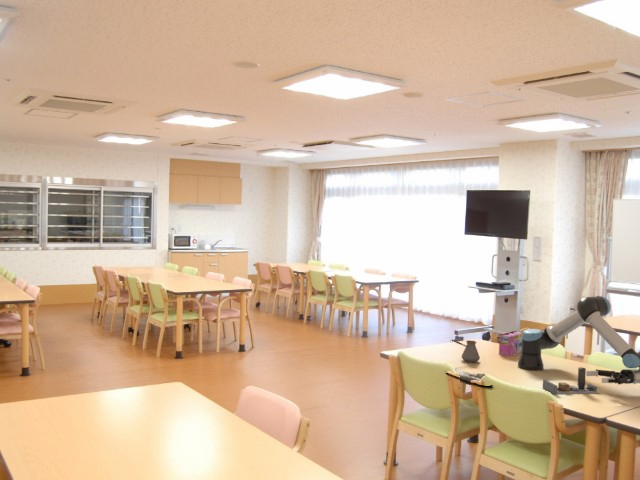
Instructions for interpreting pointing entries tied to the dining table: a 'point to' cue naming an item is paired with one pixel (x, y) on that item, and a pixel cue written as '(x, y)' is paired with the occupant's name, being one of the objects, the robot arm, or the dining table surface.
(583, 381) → the carriage
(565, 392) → the press bed
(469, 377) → the elongated rock
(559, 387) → the walnut block
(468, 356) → the coffee pot
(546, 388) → the anvil
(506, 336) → the gum box
